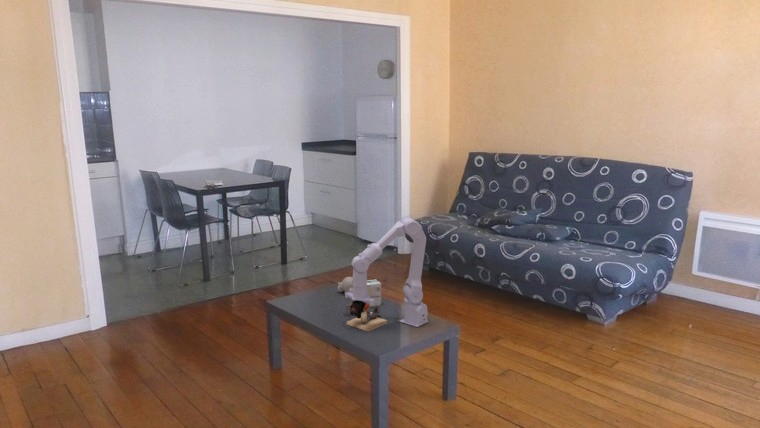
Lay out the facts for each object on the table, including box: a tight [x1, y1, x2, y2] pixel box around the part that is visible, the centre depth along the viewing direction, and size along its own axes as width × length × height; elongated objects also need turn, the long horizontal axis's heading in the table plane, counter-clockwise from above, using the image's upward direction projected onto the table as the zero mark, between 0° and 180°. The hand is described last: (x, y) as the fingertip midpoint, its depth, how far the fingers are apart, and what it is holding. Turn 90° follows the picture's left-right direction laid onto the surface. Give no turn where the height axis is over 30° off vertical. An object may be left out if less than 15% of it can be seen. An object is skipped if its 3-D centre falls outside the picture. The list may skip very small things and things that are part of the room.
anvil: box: [343, 300, 356, 317], centre depth 248 cm, size 3×7×4 cm, turn 163°
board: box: [346, 316, 388, 332], centre depth 236 cm, size 12×12×1 cm
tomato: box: [353, 300, 371, 313], centre depth 247 cm, size 7×7×8 cm
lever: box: [361, 305, 381, 324], centre depth 238 cm, size 16×4×5 cm, turn 158°
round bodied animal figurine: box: [337, 276, 353, 294], centre depth 274 cm, size 7×12×8 cm, turn 46°
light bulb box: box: [367, 279, 382, 308], centre depth 258 cm, size 11×7×11 cm, turn 111°
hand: (359, 317), depth 233 cm, fingers closed
